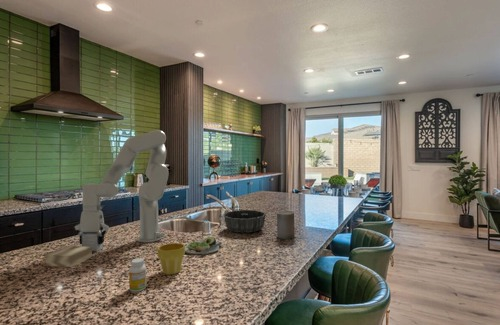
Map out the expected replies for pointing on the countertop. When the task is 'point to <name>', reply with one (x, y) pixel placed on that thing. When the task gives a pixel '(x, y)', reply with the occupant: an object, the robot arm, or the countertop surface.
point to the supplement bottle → (137, 275)
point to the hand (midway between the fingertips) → (91, 243)
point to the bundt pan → (244, 220)
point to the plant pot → (171, 257)
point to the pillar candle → (285, 224)
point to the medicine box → (91, 240)
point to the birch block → (68, 256)
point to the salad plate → (203, 246)
